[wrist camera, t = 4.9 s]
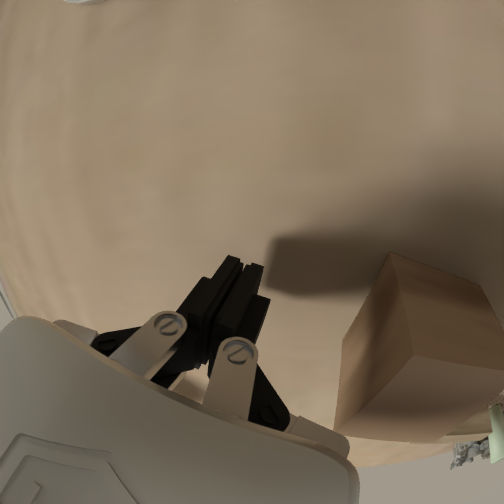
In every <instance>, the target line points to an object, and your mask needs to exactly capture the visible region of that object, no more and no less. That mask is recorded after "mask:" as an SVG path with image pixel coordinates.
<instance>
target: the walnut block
mask: <svg viewBox="0 0 504 504" xmlns="http://www.w3.org/2000/svg"><path fill="white" fill-rule="evenodd" d="M503 389H504V331H503V329H502V327H501V325H500V323H499V321H498V319H497V317H496V315H495V313H494V311H493V309H492V307H491V305H490V303H489V301H488V299H487V297H486V296H485V294H484V292H483V290H482V289H481V287H480V285H478V284H475V283H473V282H470V281H467V280H465V279H462V278H460V277H457V276H454V275H452V274H449V273H446V272H444V271H441V270H438V269H436V268H433V267H430V266H427V265H425V264H422V263H419V262H416V261H413V260H411V259H408V258H405V257H402V256H399V255H396V254H393V253H390V252H389V254H388V256H387V258H386V260H385V263H384V265H383V267H382V269H381V271H380V273H379V275H378V277H377V279H376V281H375V283H374V285H373V287H372V289H371V291H370V293H369V294H368V296H367V298H366V300H365V302H364V304H363V306H362V307H361V309H360V311H359V313H358V315H357V316H356V318H355V320H354V322H353V323H352V325H351V327H350V328H349V330H348V332H347V334H346V335H345V337H344V338H343V341H342V357H341V369H340V380H339V390H338V399H337V407H336V415H335V422H334V429H333V431H334V432H337V433H339V434H341V435H343V436H350V437H357V438H365V439H374V440H385V441H400V442H436V441H437V440H439V439H440V438H442V437H444V436H445V435H447V434H448V433H450V432H451V431H452V430H454V429H455V428H457V427H458V426H460V425H461V424H462V423H464V422H465V421H466V420H468V419H469V418H470V417H472V416H473V415H474V414H475V413H477V412H478V411H479V410H480V409H482V408H483V407H484V406H485V405H486V404H488V403H489V402H490V401H491V400H492V399H493V398H495V397H496V396H497V395H498V394H499V393H500V392H501V391H502V390H503Z"/></svg>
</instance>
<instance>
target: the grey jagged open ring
mask: <svg viewBox="0 0 504 504" xmlns="http://www.w3.org/2000/svg"><path fill="white" fill-rule="evenodd" d="M503 416H504V413H503ZM453 452H454V461H453V463H452V464H451V469H452V468H454V467H457V466H462V464H463V463H464V462H467V461H469V462H470V463H471V462H472V461H473V457H474V456H476V455H479V454H481V456H482V458H483V459H488V458H490V447H489V438H488V436H487V437H485V438H484V439H483V440H480V441H471V442H459V443H455V448H454V450H453Z"/></svg>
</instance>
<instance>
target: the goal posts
mask: <svg viewBox="0 0 504 504" xmlns="http://www.w3.org/2000/svg"><path fill="white" fill-rule="evenodd" d="M489 413H490V418H491V424H492V431H493V433H491V434H490V435H488V438H489V447H490V458H491V464H493V463H496V462H498V461H500V460H502V459H504V416H503V411H502V407H501V404H498V405H495V406H493V407H491V408H490V409H489Z"/></svg>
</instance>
